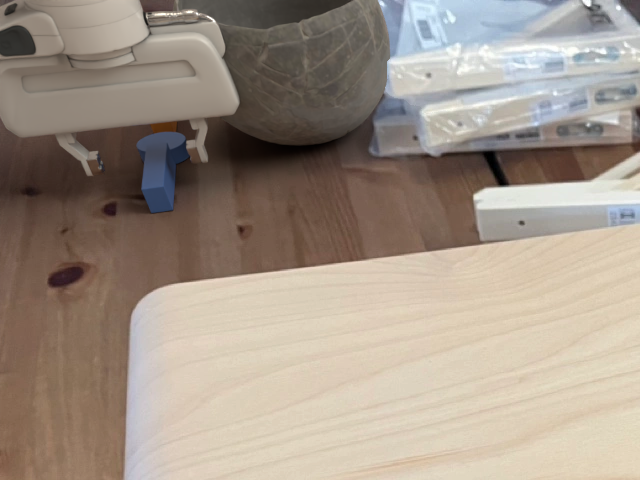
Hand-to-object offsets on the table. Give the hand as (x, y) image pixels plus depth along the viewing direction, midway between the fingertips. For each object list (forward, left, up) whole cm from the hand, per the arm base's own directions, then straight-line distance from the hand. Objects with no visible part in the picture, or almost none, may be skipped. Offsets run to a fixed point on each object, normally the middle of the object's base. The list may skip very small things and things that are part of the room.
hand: (149, 167), depth 100 cm
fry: (0, +18, -2) cm, 18 cm away
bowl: (+15, +9, -3) cm, 18 cm away
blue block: (+1, +3, -2) cm, 4 cm away
